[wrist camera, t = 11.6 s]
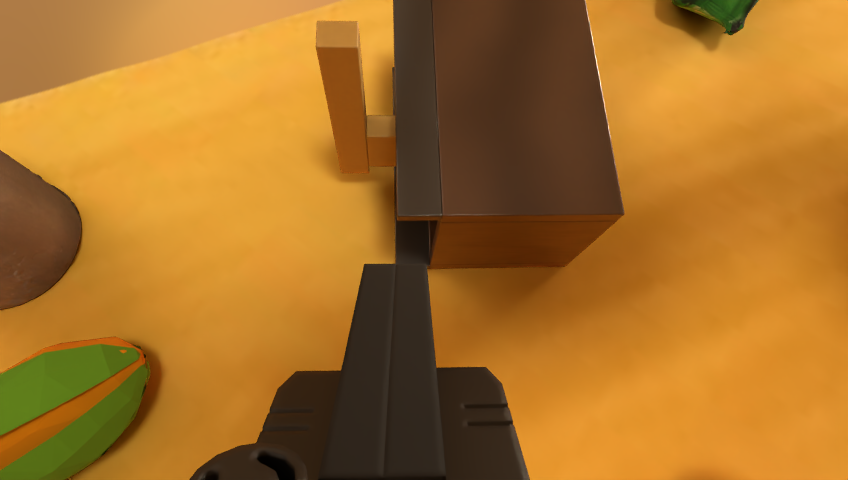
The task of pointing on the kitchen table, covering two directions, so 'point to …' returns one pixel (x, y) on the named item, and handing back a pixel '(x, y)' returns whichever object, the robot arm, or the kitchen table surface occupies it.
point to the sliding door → (351, 101)
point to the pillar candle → (33, 233)
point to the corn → (68, 406)
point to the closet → (499, 134)
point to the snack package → (721, 11)
